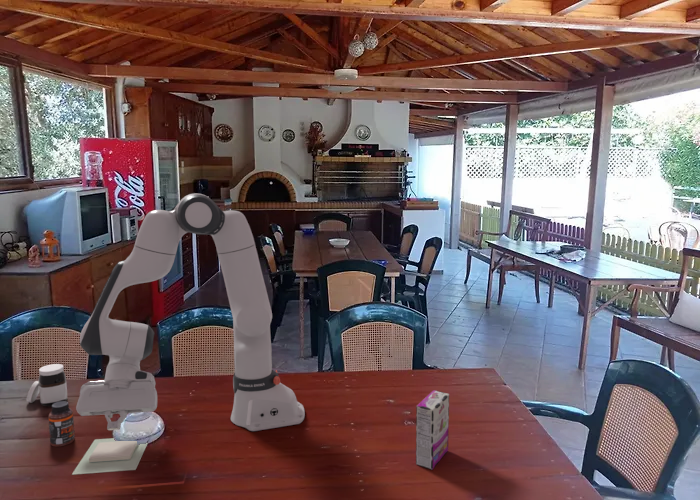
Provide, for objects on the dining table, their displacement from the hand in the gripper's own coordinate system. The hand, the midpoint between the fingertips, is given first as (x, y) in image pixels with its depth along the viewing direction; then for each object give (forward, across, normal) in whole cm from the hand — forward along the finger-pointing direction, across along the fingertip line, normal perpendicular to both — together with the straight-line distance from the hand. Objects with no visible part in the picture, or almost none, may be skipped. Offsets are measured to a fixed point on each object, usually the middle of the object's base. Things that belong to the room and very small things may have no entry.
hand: (113, 429), depth 136 cm
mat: (+6, 0, +4) cm, 7 cm away
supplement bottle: (-1, -16, +11) cm, 19 cm away
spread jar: (-20, -31, +31) cm, 48 cm away
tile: (+2, 0, +6) cm, 7 cm away
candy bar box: (+15, +83, -5) cm, 85 cm away
